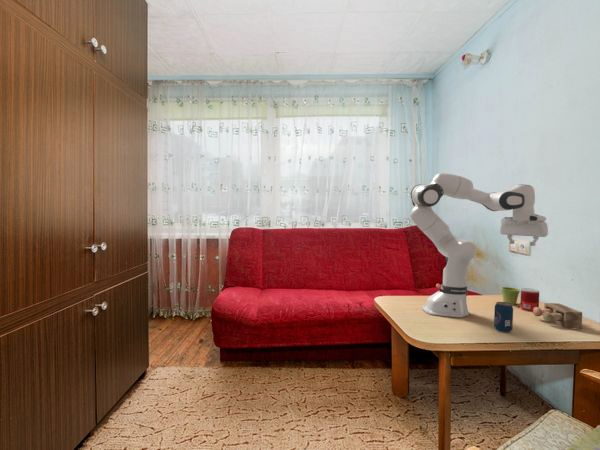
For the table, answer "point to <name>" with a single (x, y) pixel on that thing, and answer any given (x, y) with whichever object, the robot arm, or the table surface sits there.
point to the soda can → (503, 317)
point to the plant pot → (510, 295)
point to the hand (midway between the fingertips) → (522, 244)
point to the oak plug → (553, 316)
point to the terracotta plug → (541, 311)
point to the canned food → (529, 299)
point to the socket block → (566, 315)
